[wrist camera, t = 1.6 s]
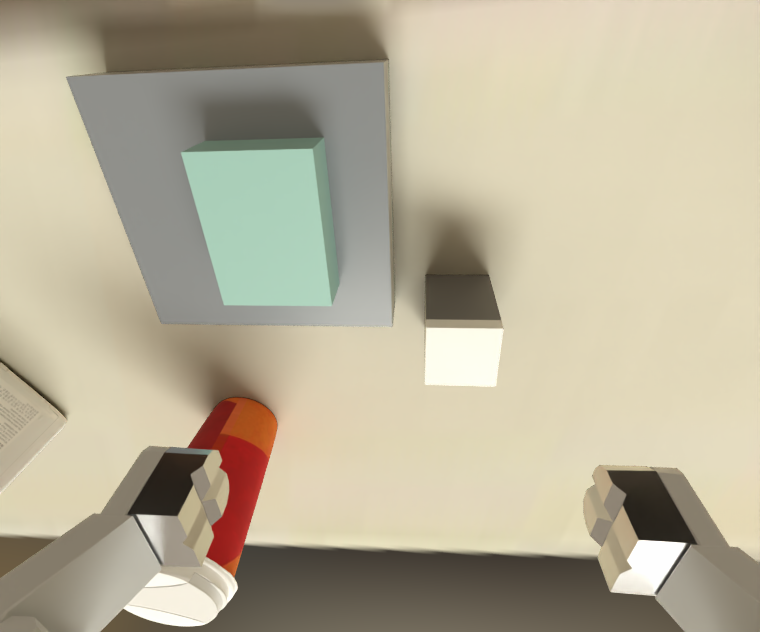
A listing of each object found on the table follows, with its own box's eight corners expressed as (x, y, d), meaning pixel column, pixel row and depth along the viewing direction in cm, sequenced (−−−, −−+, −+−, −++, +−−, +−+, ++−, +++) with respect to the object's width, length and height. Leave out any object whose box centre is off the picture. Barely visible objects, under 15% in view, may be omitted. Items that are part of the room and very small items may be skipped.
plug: (488, 274, 27) (503, 328, 22) (483, 326, 29) (495, 386, 24) (425, 275, 28) (425, 327, 22) (424, 326, 30) (425, 384, 25)
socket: (388, 59, 21) (383, 62, 19) (395, 301, 29) (392, 326, 26) (105, 72, 23) (65, 76, 20) (183, 300, 30) (161, 323, 28)
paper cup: (210, 446, 39) (118, 623, 27) (192, 383, 35) (74, 559, 23) (295, 454, 38) (238, 636, 27) (287, 391, 34) (215, 574, 22)
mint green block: (324, 137, 21) (312, 148, 18) (339, 283, 25) (331, 306, 23) (204, 140, 21) (180, 152, 19) (240, 283, 25) (223, 305, 23)
